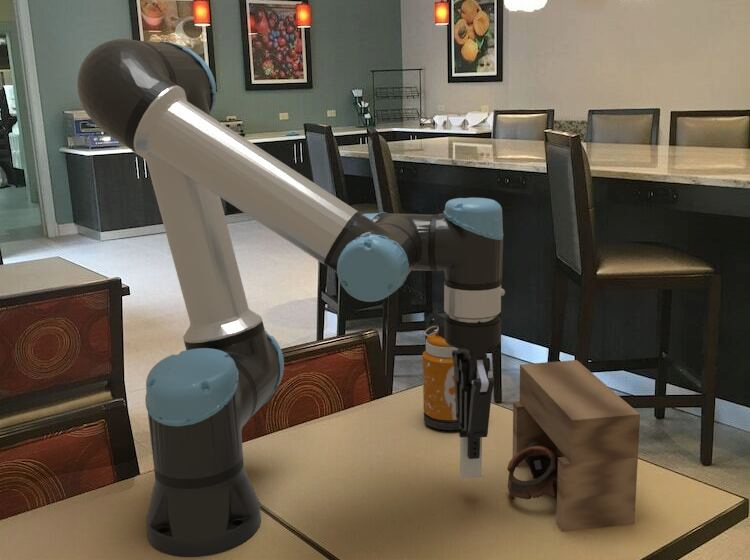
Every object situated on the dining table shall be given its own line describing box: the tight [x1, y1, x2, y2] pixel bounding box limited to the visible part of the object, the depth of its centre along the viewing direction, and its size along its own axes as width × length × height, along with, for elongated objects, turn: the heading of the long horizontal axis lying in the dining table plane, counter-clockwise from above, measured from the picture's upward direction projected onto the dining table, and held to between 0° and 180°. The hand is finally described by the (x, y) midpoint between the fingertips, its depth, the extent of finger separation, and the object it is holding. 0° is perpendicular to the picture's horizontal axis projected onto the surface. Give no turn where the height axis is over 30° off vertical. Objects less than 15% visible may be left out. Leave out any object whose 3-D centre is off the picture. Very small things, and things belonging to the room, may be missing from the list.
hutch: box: [512, 359, 641, 533], centre depth 112 cm, size 10×21×16 cm, turn 8°
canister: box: [422, 309, 461, 431], centre depth 137 cm, size 9×11×20 cm
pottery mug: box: [506, 442, 561, 500], centre depth 113 cm, size 12×9×8 cm
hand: (470, 475), depth 112 cm, fingers closed
